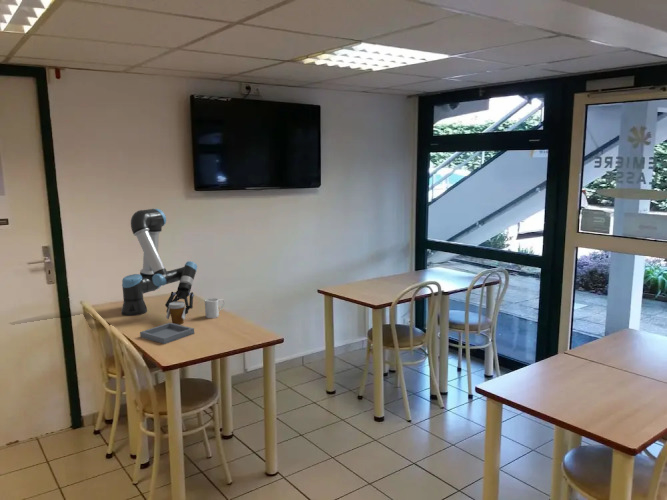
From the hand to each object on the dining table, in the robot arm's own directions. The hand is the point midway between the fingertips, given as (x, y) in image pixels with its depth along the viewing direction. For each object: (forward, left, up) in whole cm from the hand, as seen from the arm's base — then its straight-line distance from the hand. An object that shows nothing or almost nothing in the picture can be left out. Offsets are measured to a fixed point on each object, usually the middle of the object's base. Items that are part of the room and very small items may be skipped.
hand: (175, 318), depth 307 cm
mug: (+6, +25, -4) cm, 26 cm away
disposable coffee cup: (-1, +3, -4) cm, 5 cm away
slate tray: (+12, -15, -4) cm, 19 cm away
